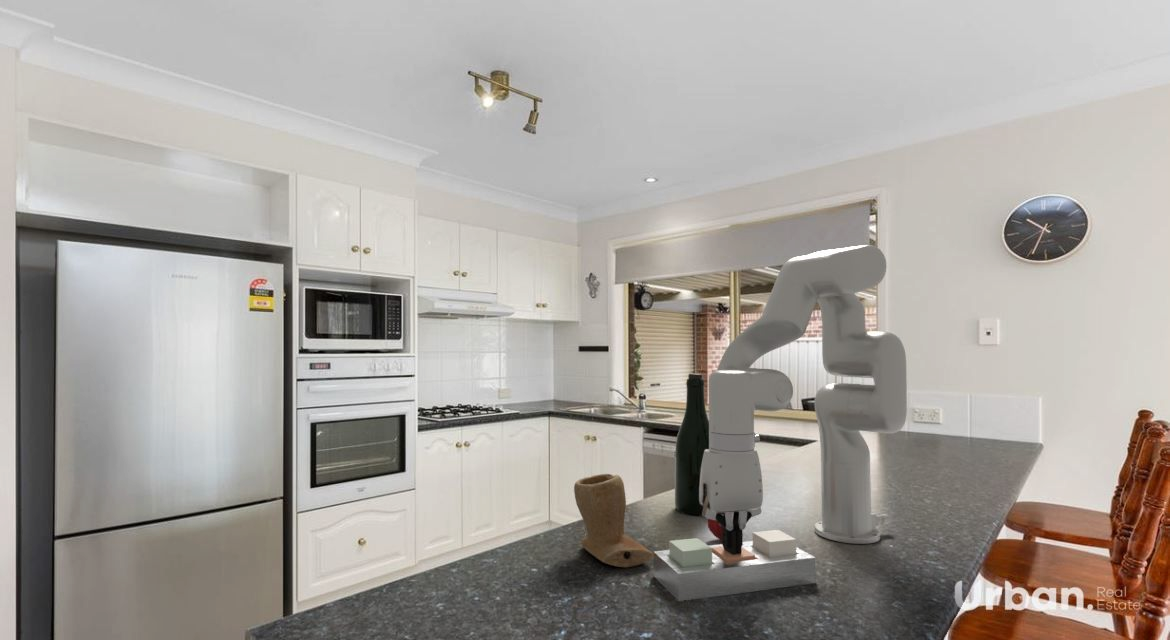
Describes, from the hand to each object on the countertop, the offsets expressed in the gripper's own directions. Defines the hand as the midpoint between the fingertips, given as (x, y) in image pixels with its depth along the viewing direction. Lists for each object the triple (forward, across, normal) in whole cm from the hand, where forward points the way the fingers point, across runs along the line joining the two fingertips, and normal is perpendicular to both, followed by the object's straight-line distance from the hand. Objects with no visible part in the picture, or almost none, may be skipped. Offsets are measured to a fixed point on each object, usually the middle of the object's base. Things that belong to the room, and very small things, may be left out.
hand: (732, 551), depth 96 cm
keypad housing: (+5, 0, 0) cm, 5 cm away
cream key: (+1, -8, 0) cm, 8 cm away
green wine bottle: (+5, -13, -39) cm, 42 cm away
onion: (+5, -8, -18) cm, 20 cm away
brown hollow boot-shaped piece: (+5, +17, -16) cm, 24 cm away
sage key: (+1, +8, 0) cm, 8 cm away
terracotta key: (+3, 0, 0) cm, 3 cm away
